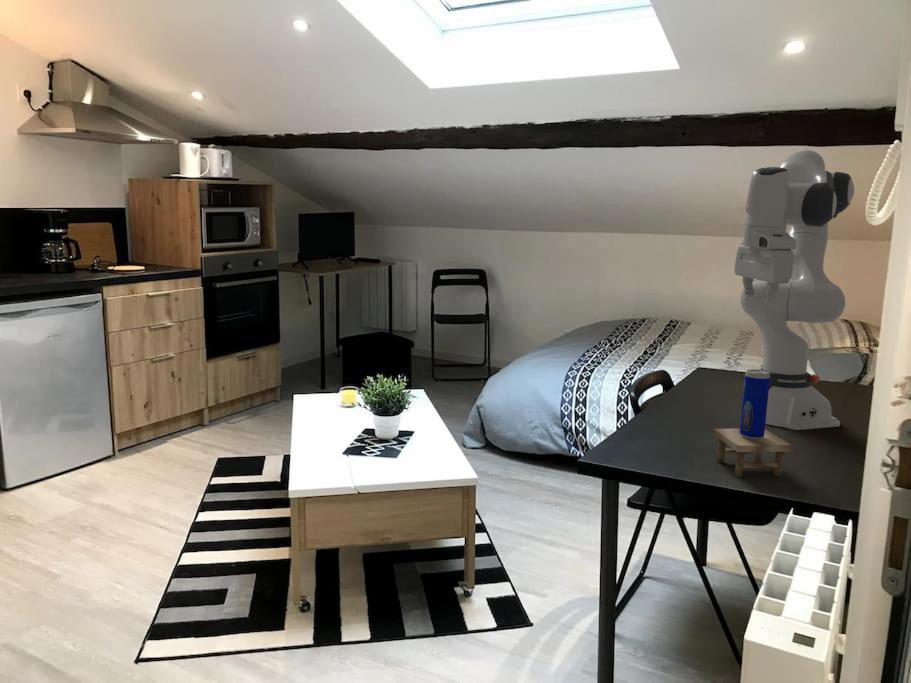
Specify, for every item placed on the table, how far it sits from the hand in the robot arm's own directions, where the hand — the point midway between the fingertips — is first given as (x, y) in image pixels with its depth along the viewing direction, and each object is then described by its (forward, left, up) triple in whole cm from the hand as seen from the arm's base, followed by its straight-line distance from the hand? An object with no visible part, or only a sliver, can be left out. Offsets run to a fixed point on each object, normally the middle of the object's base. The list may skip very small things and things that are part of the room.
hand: (758, 298), depth 173 cm
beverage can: (+5, +12, -30) cm, 32 cm away
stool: (+5, +12, -37) cm, 39 cm away
